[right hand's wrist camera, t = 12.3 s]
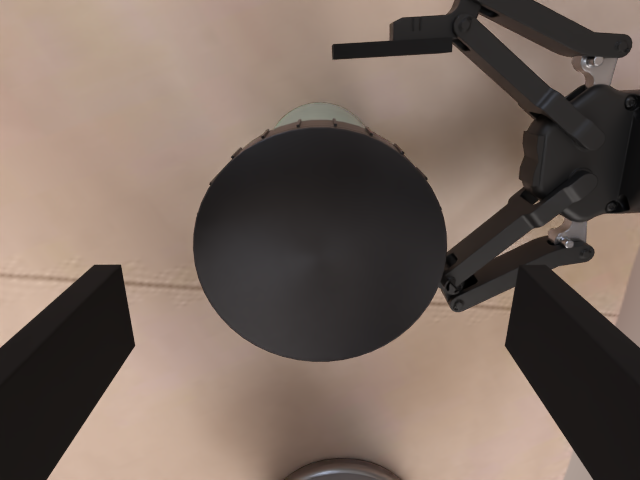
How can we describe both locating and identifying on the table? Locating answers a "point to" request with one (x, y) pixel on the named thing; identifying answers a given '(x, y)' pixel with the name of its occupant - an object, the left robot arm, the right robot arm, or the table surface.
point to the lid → (320, 241)
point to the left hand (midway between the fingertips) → (336, 168)
